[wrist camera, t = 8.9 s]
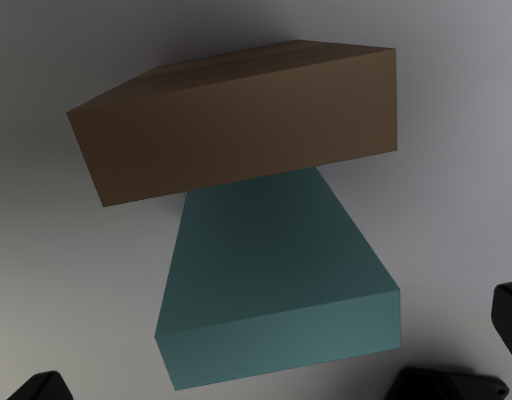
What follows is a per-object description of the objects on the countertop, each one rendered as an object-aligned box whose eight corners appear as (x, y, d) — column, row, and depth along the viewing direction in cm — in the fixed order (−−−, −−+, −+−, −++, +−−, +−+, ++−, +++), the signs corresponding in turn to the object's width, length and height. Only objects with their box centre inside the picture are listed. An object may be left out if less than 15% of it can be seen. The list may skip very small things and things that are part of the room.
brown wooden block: (303, 87, 13) (397, 150, 6) (168, 113, 13) (103, 207, 6) (297, 39, 13) (396, 48, 6) (155, 67, 13) (66, 112, 6)
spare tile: (188, 186, 15) (154, 336, 7) (312, 162, 15) (399, 289, 7) (198, 221, 15) (175, 391, 8) (316, 199, 15) (400, 348, 8)
